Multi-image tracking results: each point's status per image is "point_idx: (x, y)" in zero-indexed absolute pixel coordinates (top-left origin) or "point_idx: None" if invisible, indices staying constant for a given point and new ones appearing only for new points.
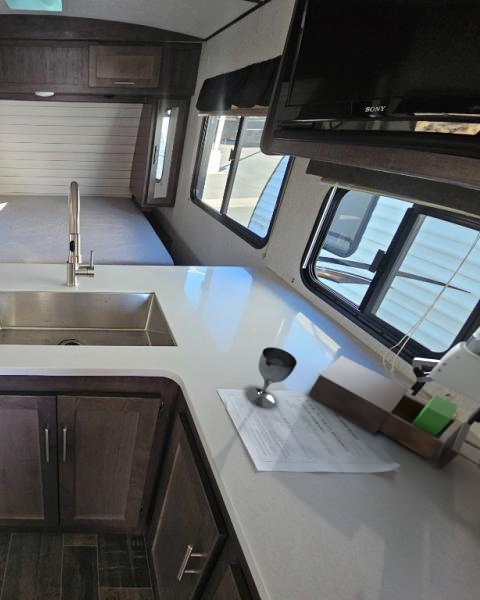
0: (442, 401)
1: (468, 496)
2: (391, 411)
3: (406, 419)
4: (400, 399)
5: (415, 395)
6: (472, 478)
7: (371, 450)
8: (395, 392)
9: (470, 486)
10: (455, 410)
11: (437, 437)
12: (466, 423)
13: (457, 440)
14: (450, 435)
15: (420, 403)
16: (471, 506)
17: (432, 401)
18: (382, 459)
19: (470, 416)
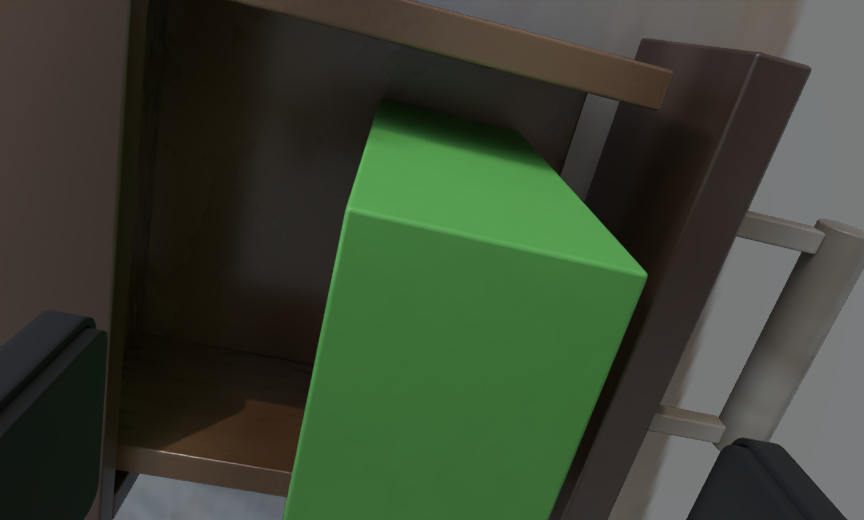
0: (440, 335)
1: (642, 467)
2: (96, 516)
3: (341, 99)
4: (114, 239)
5: (87, 513)
6: (700, 323)
7: (223, 492)
8: (30, 121)
9: (671, 393)
10: (583, 430)
11: (549, 164)
12: (767, 80)
13: (607, 434)
14: (652, 46)
15: (343, 27)
16: (638, 516)
17: (312, 441)
18: (280, 513)
19: (729, 511)
